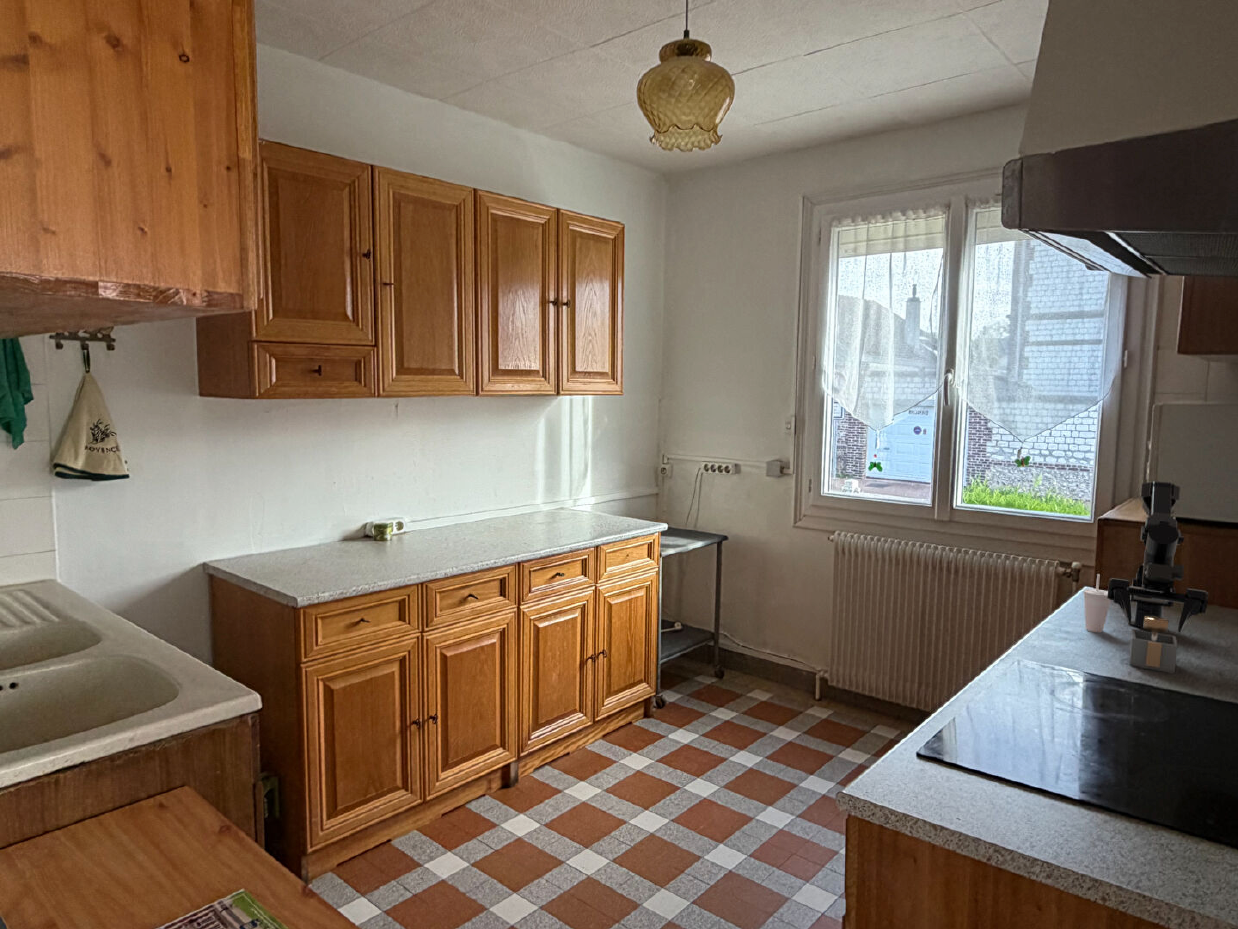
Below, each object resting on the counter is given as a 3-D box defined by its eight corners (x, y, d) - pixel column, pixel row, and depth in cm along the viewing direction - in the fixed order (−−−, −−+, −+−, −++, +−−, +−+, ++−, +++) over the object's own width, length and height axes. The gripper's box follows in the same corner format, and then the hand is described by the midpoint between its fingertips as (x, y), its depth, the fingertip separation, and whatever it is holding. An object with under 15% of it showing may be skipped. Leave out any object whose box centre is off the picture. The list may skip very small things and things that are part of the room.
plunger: (1134, 652, 179) (1139, 612, 178) (1168, 658, 176) (1172, 618, 175) (1135, 660, 174) (1139, 619, 173) (1169, 666, 171) (1174, 625, 170)
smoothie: (1101, 626, 201) (1107, 572, 200) (1114, 635, 195) (1120, 578, 194) (1074, 625, 202) (1080, 570, 200) (1086, 633, 196) (1092, 577, 194)
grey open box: (1129, 655, 181) (1132, 629, 180) (1172, 662, 176) (1175, 636, 176) (1129, 666, 173) (1132, 639, 172) (1174, 675, 169) (1177, 647, 168)
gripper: (1113, 543, 185) (1107, 601, 177) (1213, 555, 175) (1211, 617, 167) (1110, 570, 193) (1104, 626, 185) (1205, 583, 183) (1204, 643, 175)
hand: (1154, 627), depth 178 cm, fingers open, 9 cm apart
